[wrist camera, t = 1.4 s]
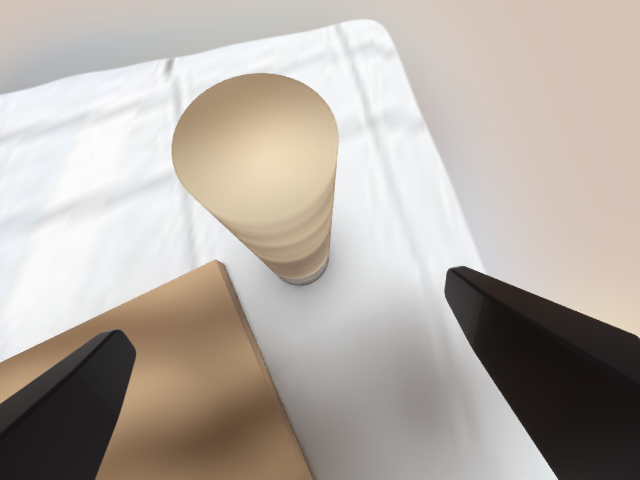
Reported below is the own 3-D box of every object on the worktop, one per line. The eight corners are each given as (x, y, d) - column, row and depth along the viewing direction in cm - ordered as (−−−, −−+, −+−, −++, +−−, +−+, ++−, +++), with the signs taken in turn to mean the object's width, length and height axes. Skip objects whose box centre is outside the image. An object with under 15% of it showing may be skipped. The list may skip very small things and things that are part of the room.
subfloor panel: (338, 539, 14) (339, 569, 13) (-51, 790, 12) (-114, 869, 10) (223, 264, 19) (213, 258, 17) (-80, 410, 16) (-127, 421, 15)
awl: (338, 269, 19) (369, 170, 6) (286, 295, 18) (206, 247, 6) (312, 221, 20) (294, 52, 7) (262, 245, 19) (150, 110, 7)
